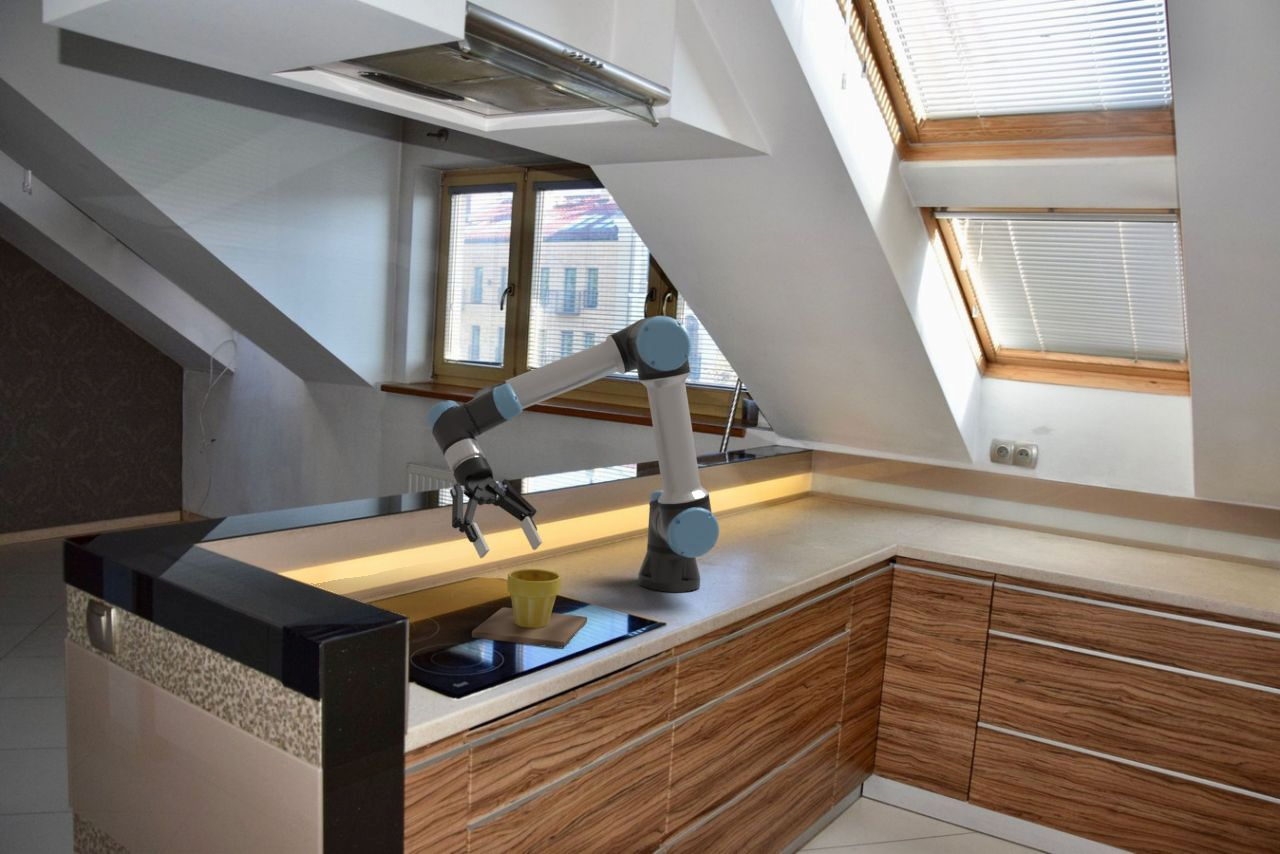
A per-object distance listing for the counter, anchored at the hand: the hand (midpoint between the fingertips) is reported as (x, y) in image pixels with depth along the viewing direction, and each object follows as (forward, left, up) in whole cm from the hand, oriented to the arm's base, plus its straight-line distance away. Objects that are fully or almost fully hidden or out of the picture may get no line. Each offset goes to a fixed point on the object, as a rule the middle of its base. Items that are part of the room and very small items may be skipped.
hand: (512, 550), depth 191 cm
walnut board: (-6, +3, -15) cm, 16 cm away
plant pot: (-6, +3, -14) cm, 15 cm away
